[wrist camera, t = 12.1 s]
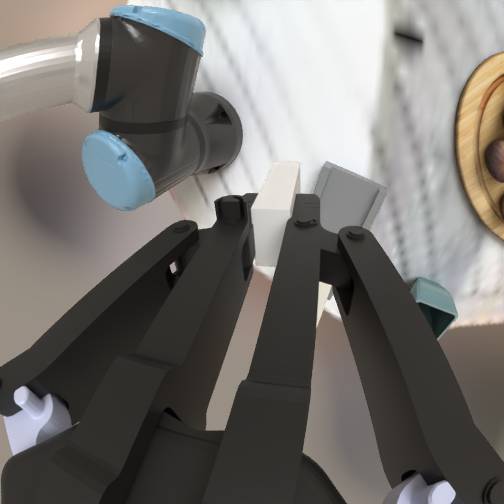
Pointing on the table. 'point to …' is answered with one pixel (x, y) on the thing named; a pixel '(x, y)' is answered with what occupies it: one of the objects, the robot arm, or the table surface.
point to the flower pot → (435, 305)
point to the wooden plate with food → (483, 142)
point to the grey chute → (347, 199)
